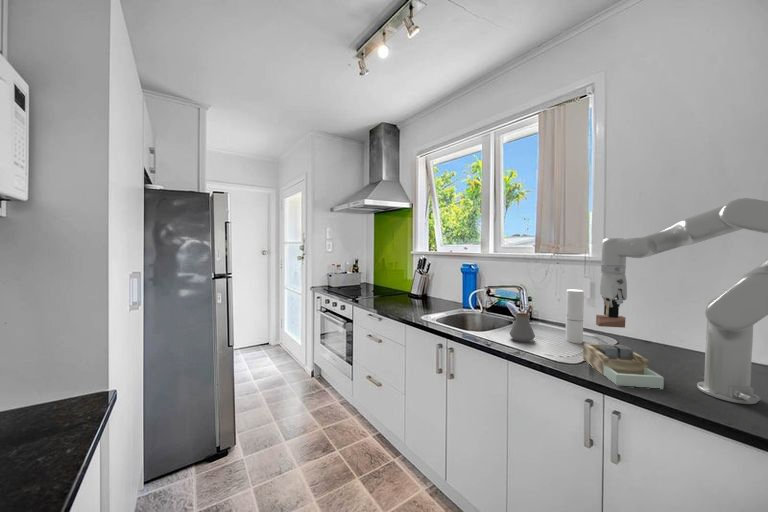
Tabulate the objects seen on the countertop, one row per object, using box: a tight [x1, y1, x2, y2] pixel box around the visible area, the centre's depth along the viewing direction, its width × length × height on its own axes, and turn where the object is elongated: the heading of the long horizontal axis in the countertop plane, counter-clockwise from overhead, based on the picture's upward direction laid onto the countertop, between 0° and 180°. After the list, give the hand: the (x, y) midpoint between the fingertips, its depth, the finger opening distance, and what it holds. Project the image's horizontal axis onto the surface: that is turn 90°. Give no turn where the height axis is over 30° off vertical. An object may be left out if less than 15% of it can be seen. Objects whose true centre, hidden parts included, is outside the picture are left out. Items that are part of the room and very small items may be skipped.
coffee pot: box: [509, 305, 536, 343], centre depth 151 cm, size 21×12×15 cm, turn 139°
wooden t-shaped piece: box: [595, 300, 626, 328], centre depth 117 cm, size 2×9×10 cm, turn 79°
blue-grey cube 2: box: [600, 344, 618, 359], centre depth 112 cm, size 4×4×4 cm
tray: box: [603, 366, 665, 390], centre depth 102 cm, size 8×14×4 cm, turn 80°
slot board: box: [582, 342, 649, 375], centre depth 113 cm, size 15×14×7 cm
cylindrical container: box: [565, 288, 585, 344], centre depth 145 cm, size 7×7×25 cm
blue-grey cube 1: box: [613, 344, 634, 360], centre depth 111 cm, size 4×4×4 cm
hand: (611, 315), depth 117 cm, fingers closed on wooden t-shaped piece, 2 cm apart
